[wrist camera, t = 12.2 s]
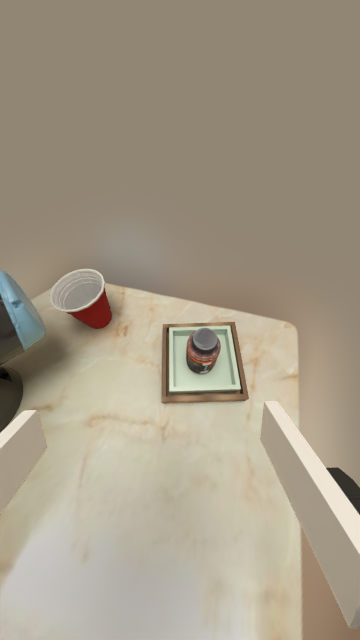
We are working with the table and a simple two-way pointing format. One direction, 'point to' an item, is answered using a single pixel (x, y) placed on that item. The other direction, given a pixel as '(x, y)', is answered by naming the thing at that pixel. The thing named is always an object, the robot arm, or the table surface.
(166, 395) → the walnut crate
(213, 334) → the supplement bottle
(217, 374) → the grey-green crate
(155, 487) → the table surface
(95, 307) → the plastic cup
